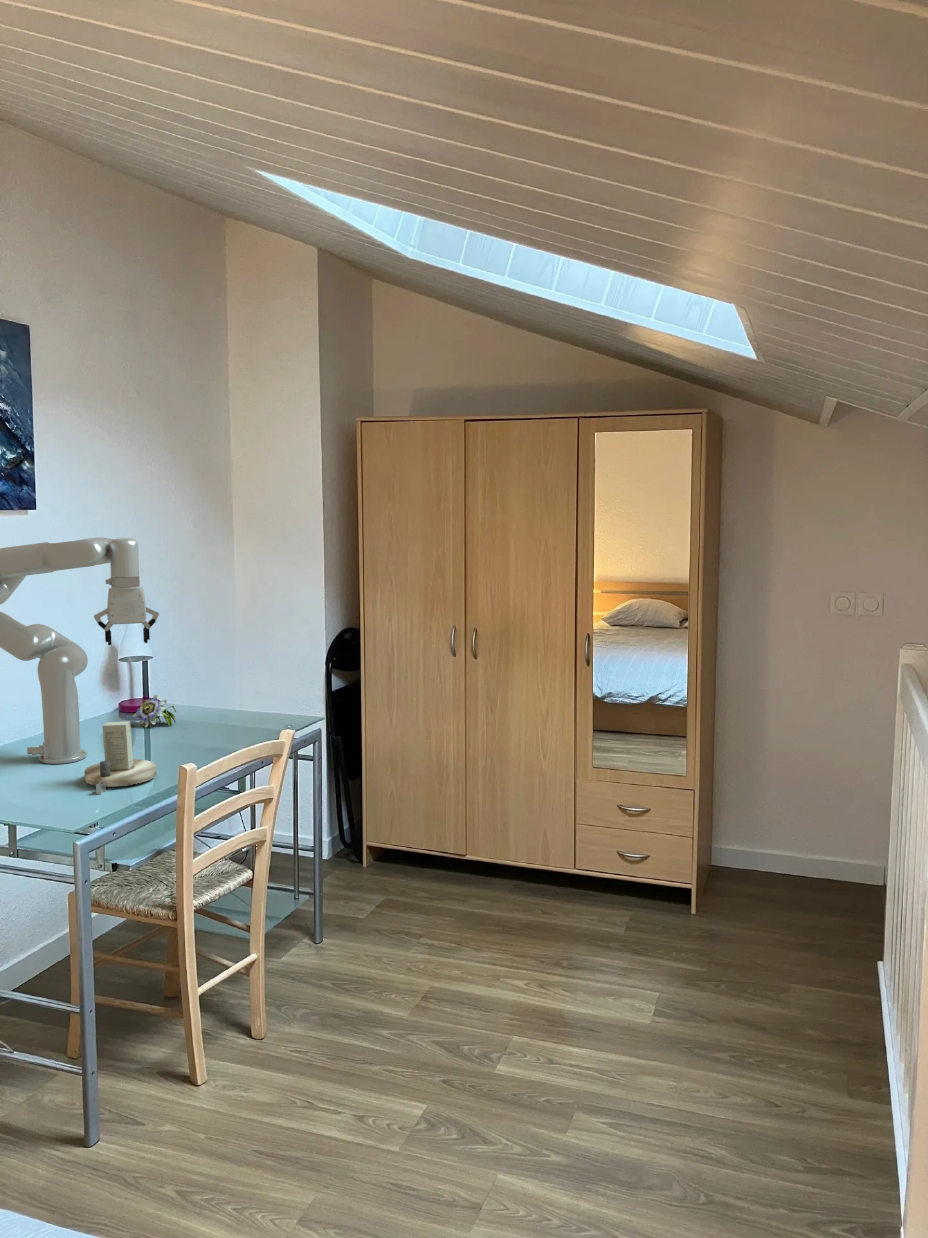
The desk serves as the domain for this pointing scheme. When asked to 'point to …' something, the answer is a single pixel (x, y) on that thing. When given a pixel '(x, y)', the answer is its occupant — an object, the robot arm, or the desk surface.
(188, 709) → the desk surface
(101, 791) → the grey small block
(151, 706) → the passion flower
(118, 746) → the skincare box
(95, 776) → the turntable
